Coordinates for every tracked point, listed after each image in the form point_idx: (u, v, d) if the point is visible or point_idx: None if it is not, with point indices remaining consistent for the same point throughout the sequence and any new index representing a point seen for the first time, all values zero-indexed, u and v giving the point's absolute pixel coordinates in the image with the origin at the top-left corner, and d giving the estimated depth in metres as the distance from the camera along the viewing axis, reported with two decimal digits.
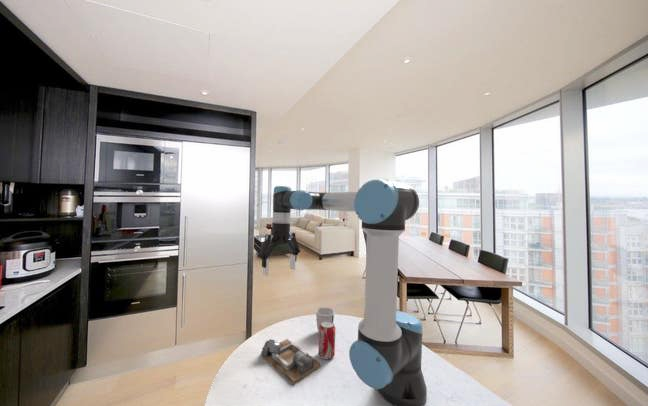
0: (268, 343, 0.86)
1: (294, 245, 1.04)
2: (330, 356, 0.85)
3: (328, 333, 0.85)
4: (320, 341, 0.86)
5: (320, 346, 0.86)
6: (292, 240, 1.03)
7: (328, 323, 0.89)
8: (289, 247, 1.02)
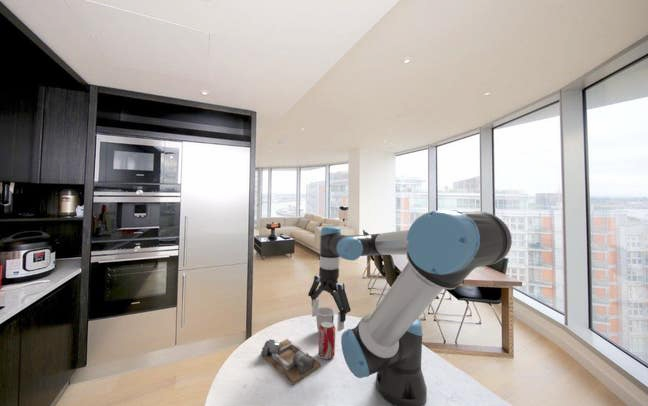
0: (268, 343, 0.86)
1: None
2: (330, 356, 0.85)
3: (327, 333, 0.85)
4: (320, 341, 0.86)
5: (320, 346, 0.86)
6: None
7: (328, 323, 0.89)
8: None
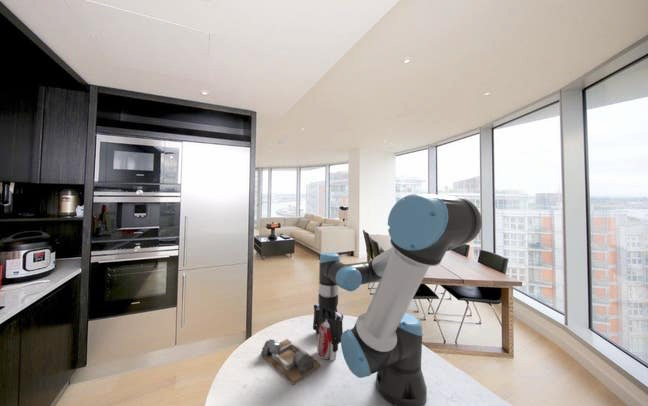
0: (268, 343, 0.86)
1: None
2: None
3: (327, 333, 0.85)
4: (320, 341, 0.86)
5: (320, 346, 0.86)
6: None
7: (328, 323, 0.89)
8: None
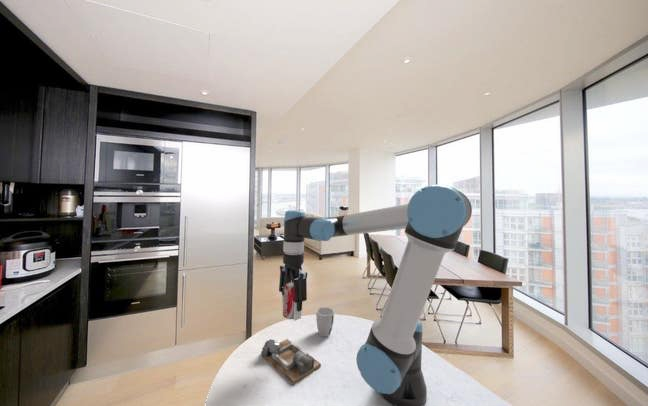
0: (268, 343, 0.86)
1: None
2: None
3: (291, 292, 0.81)
4: (284, 301, 0.83)
5: (284, 306, 0.83)
6: None
7: None
8: None
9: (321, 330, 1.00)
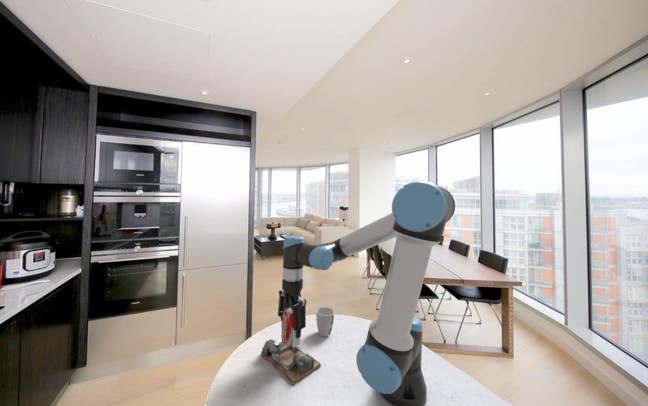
0: (268, 343, 0.86)
1: None
2: None
3: (290, 319, 0.81)
4: (283, 327, 0.83)
5: (283, 332, 0.83)
6: None
7: None
8: None
9: (321, 330, 1.00)
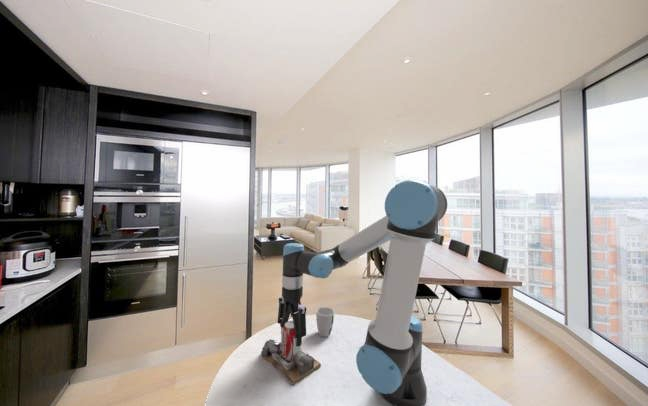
0: (268, 343, 0.86)
1: None
2: None
3: (290, 334, 0.81)
4: (283, 342, 0.83)
5: (283, 347, 0.82)
6: None
7: (292, 323, 0.85)
8: None
9: (321, 330, 1.00)
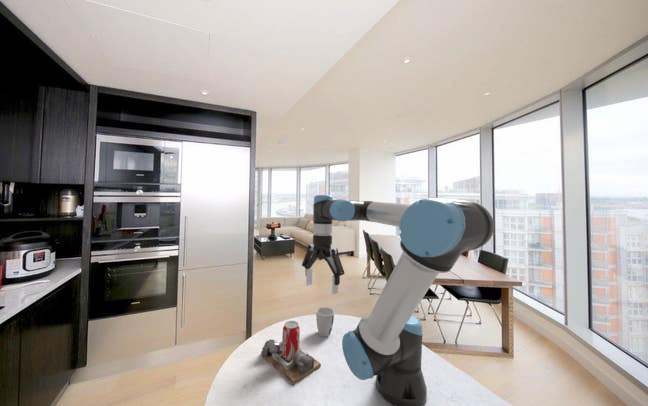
0: (268, 343, 0.86)
1: None
2: None
3: (290, 334, 0.81)
4: (283, 342, 0.83)
5: (283, 347, 0.82)
6: None
7: (292, 323, 0.85)
8: None
9: (321, 330, 1.00)
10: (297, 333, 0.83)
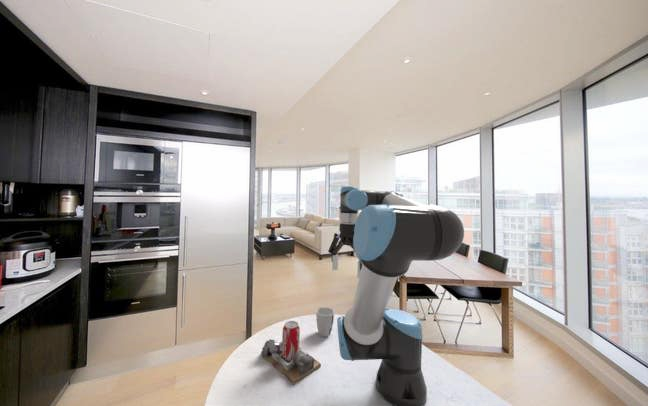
0: (268, 343, 0.86)
1: None
2: None
3: (290, 334, 0.81)
4: (283, 342, 0.83)
5: (283, 347, 0.82)
6: None
7: (292, 323, 0.85)
8: None
9: (321, 330, 1.00)
10: (297, 333, 0.83)
